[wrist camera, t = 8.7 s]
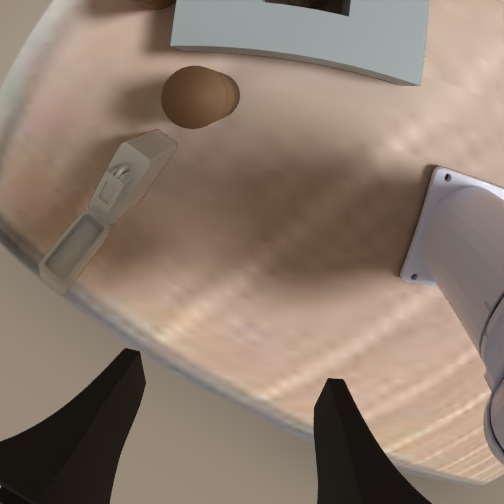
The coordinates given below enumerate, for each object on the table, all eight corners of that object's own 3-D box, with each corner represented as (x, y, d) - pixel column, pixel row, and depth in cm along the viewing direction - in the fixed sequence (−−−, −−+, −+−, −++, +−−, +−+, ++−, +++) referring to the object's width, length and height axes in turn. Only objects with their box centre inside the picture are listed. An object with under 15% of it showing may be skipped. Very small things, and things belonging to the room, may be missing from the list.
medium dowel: (242, 75, 15) (229, 67, 10) (236, 120, 16) (222, 131, 12) (194, 71, 15) (164, 65, 11) (190, 116, 16) (159, 126, 12)
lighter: (156, 127, 17) (79, 158, 9) (179, 144, 17) (114, 186, 10) (102, 216, 19) (31, 282, 12) (121, 231, 20) (58, 303, 13)
